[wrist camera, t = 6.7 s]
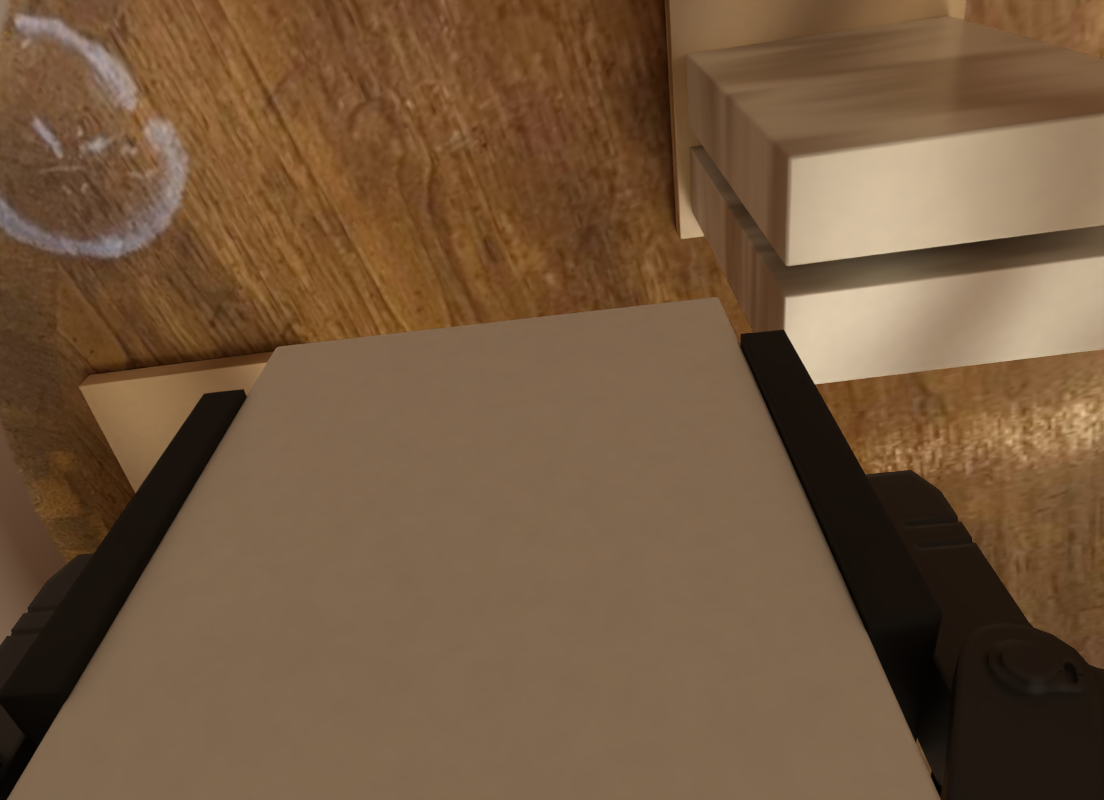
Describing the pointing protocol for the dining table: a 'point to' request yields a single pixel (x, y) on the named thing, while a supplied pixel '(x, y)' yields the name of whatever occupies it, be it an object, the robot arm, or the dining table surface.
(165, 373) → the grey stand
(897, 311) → the beige stand
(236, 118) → the dining table surface
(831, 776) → the white book
